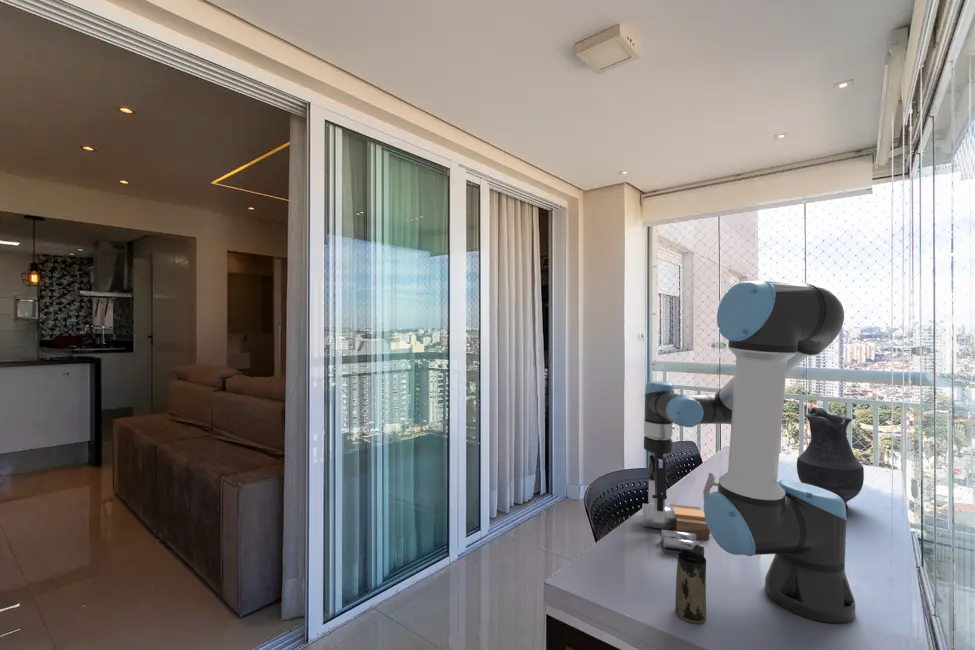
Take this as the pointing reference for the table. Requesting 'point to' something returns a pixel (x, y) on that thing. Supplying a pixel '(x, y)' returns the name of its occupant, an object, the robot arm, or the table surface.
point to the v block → (677, 541)
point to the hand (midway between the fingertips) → (655, 511)
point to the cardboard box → (691, 524)
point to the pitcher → (830, 457)
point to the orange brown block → (689, 514)
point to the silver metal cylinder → (649, 517)
